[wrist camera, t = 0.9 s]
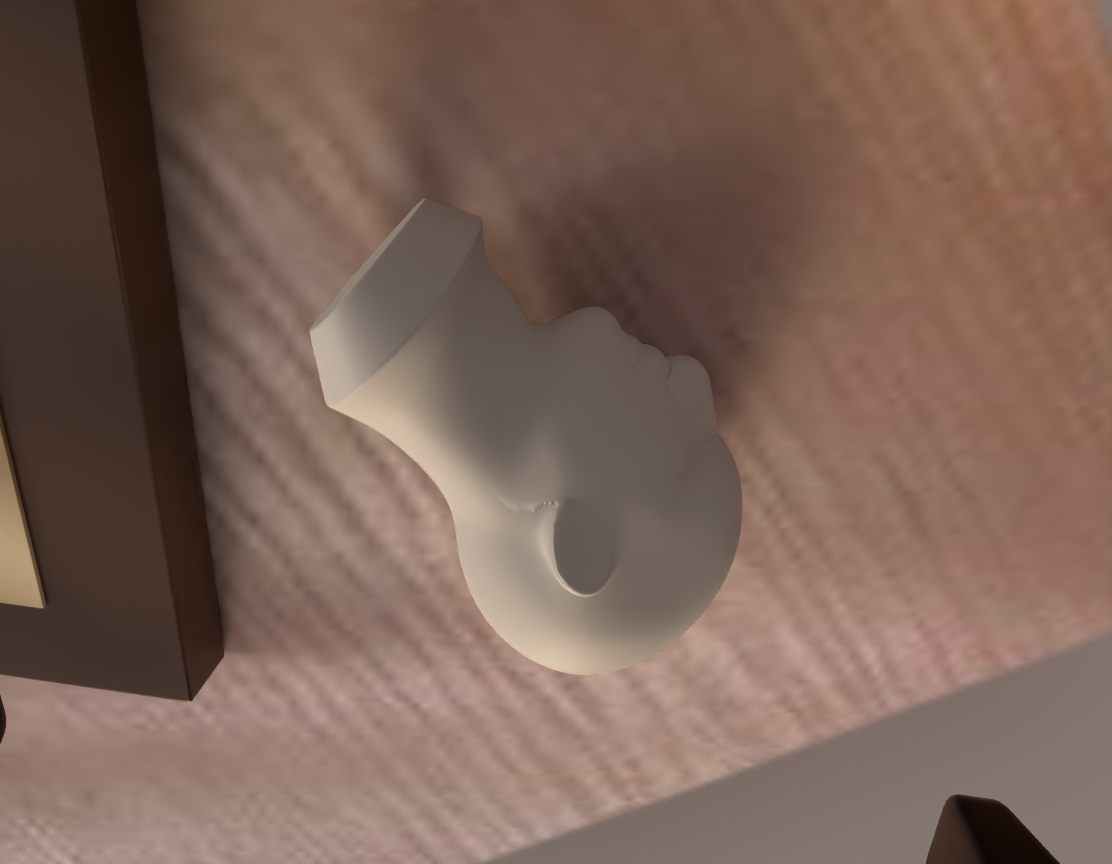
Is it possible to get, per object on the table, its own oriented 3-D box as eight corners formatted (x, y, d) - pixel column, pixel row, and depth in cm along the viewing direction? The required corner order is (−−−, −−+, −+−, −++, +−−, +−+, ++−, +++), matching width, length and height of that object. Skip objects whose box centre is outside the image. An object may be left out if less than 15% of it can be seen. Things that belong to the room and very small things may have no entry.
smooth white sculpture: (760, 494, 17) (535, 635, 18) (538, 117, 15) (278, 287, 15) (861, 600, 13) (566, 781, 14) (579, 105, 11) (223, 340, 11)
